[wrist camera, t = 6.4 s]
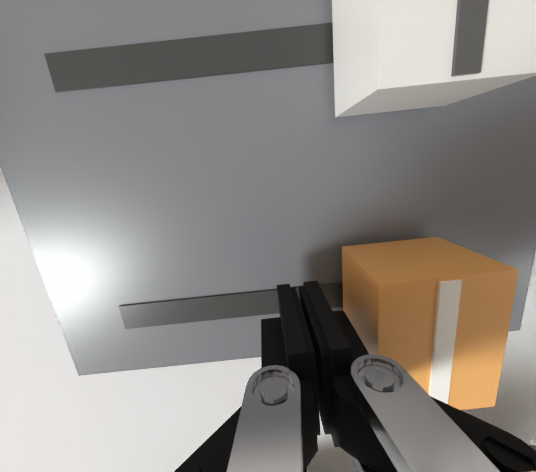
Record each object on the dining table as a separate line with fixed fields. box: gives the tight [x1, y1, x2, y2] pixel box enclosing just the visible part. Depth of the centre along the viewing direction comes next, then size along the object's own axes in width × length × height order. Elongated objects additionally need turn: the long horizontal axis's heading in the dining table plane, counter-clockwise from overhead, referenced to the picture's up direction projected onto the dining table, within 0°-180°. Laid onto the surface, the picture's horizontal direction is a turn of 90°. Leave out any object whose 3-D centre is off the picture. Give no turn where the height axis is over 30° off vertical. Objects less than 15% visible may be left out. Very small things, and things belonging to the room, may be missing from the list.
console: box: [0, 0, 536, 375], centre depth 12 cm, size 22×16×3 cm
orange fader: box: [342, 237, 519, 410], centre depth 9 cm, size 4×5×4 cm
